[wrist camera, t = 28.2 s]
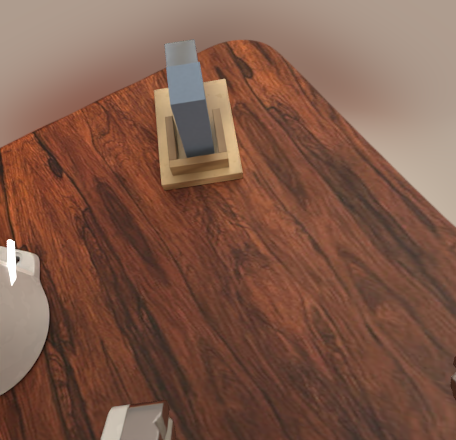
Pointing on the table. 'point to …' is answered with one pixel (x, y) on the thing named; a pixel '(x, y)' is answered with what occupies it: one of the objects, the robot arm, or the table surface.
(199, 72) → the loose pad
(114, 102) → the table surface
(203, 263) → the table surface
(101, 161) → the table surface
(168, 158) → the pad board
